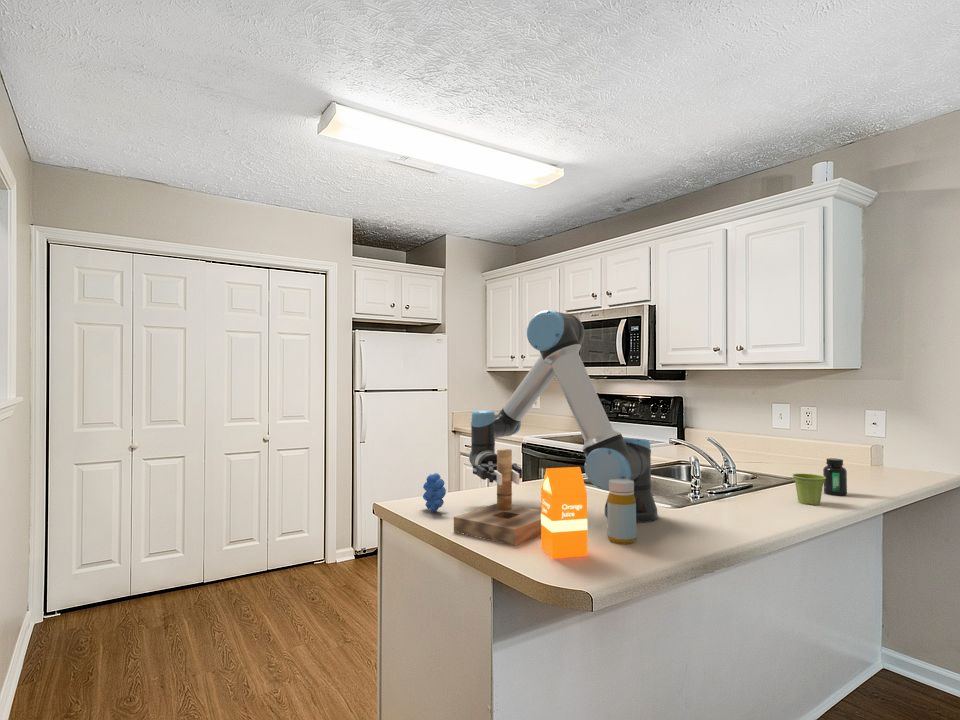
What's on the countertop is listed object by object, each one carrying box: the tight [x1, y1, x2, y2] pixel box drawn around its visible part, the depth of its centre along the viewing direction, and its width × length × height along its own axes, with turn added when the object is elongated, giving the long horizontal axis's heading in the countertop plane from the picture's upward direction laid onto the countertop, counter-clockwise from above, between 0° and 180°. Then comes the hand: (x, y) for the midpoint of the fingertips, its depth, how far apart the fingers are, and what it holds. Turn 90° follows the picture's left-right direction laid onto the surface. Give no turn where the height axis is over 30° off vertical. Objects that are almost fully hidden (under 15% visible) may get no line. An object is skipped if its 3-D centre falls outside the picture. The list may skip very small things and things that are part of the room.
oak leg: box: [496, 448, 513, 511], centre depth 154 cm, size 4×4×16 cm
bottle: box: [606, 479, 637, 545], centre depth 144 cm, size 7×7×15 cm
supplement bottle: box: [822, 458, 848, 497], centre depth 195 cm, size 7×7×12 cm
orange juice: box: [540, 466, 588, 560], centre depth 135 cm, size 8×9×20 cm
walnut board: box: [453, 503, 541, 547], centre depth 154 cm, size 20×20×4 cm
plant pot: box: [791, 473, 826, 506], centre depth 183 cm, size 9×9×9 cm
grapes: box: [422, 472, 447, 513], centre depth 175 cm, size 12×7×12 cm, turn 34°
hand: (509, 479), depth 149 cm, fingers closed on oak leg, 4 cm apart
